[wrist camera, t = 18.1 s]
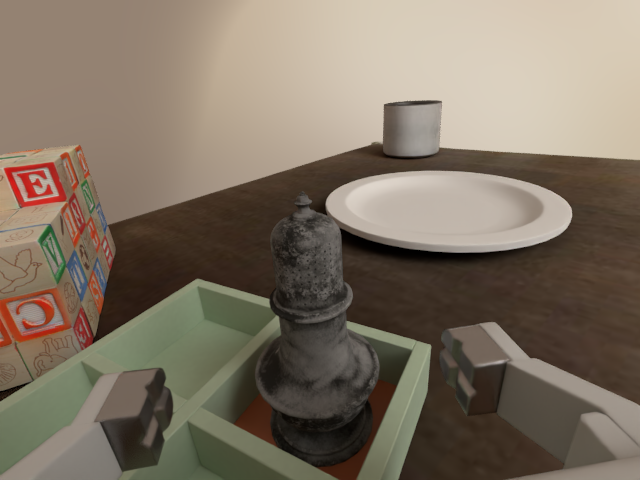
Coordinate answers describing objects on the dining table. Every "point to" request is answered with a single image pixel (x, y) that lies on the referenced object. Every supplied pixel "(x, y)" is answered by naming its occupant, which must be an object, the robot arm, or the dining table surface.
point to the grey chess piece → (315, 346)
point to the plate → (449, 211)
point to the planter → (412, 129)
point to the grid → (218, 392)
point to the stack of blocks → (49, 261)
